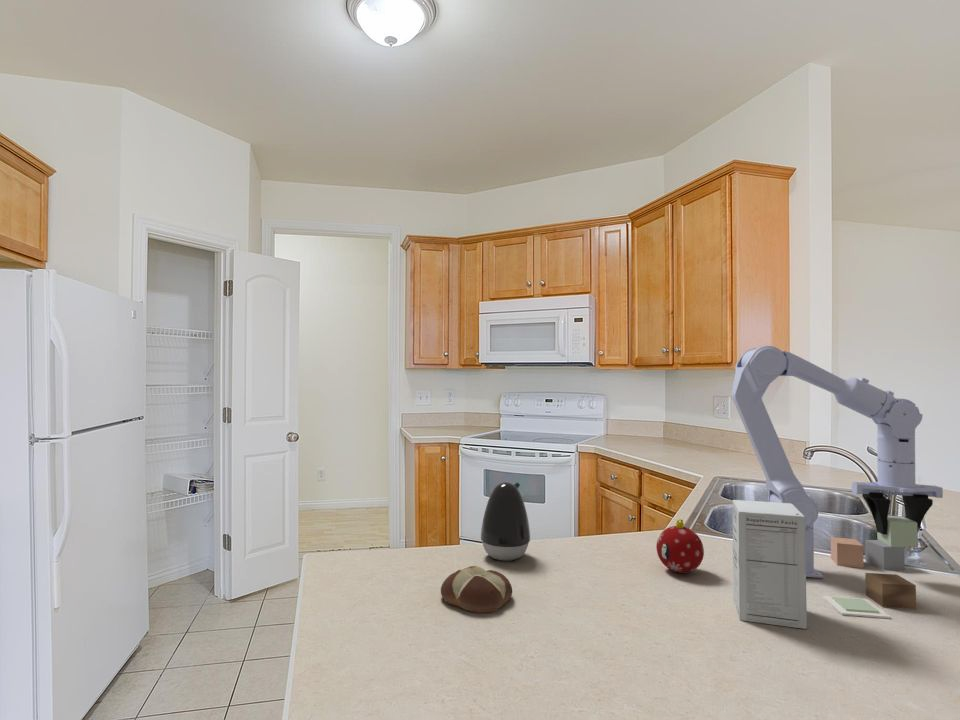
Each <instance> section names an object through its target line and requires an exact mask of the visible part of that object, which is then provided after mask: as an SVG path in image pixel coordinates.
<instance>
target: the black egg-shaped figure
mask: <svg viewBox="0 0 960 720" xmlns="http://www.w3.org/2000/svg"><path fill="white" fill-rule="evenodd" d="M520 485H521V484H520V483H519V482H515V483H514V484H513V483H512V482H511V483H510V482H501V483H499V484H497V485H496V486H495V487H494V489H493V490H492V492H491V494H490V496H489V498H488V501H487V503H486V506H485V509H484V514H483V519H482V524H481V529H480V540H481V542H482V546H483V548H484V551H485V552H486V554H487V555H488V556H489V557H491V558H492V559H495V560H498V561H501V562H502V561H505V562H509V561H514V560H517V559H519V558H520V557H522V556H523V555H524V554H525V553H526V551H527V549H528V547H529V543H530V542H531V530H530V523H529V516H528V513H527V508H526V505H525V501H524V499H523V497H522V494H521V492H520V490H519V488H520V487H521V486H520Z"/></svg>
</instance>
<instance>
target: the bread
mask: <svg viewBox="0 0 960 720" xmlns="http://www.w3.org/2000/svg"><path fill="white" fill-rule="evenodd" d="M512 587H513V586H512V584H511V582H510V580H509V579H508V578H507V577H506V576H505V575H504V574H503V573H501V572H499V571H497V570H492V569H490V570H487V569H485V568H483V567H481V566H478V565H477V566H476V565H471V566H468V567H465V568H463V569H458V570H457V571H455V572H453V573H450V574H449V575H448V576H447V577H446V578H445V580H444V581H443V582H442V584H441V587H440V595H441V597H442V599H443V600H444V601H445V602H446V603H448V604H450V605H452V606H455V607H458V608H461V609H463V610H465V611H469V612H472V613H476V614H485V613H487V614H488V613H491V612H494V611H497V610H498V609H499V608H500V607H503V606H504V605H505V604H506V603H507V602H508V601H509V600H510V599H511V597H512V595H513V588H512Z"/></svg>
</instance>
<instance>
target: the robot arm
mask: <svg viewBox="0 0 960 720" xmlns="http://www.w3.org/2000/svg"><path fill="white" fill-rule="evenodd" d="M778 377H795V378H797V379H799V380H801V381H805V382H806V383H809V384H811V385H814V386H816V387H817V388H820V389H822V390H824V391H827V392H829V393H832V394H833V395H834V397H835V400H836V403H838V404H839V405H842V406H843V407H846V408H848V409H850V410H852V411H855V412H856V413H858V414H861V415H862V416H864V417H867V418H869V419H871V420H872V421H873V422H874V423H875V424H876V425H877V427H876V428H877V431H876V433H877V436H876V437H877V439H876V443H877V447H876V448H877V450H876V451H877V452H876V454H877V467H876V468H877V481H864V482H863V481H861V482H858V481H857V482H856V481H855V482H854V481H852V482H851V492H852V493H853V494H856V495H862V498H863V500H864V501H865V503H866V505H867V507H868V508H869V511H870V512H871V515H872V519H873V520H874V525H875V528H876V533H877V532H879V533H881V534H885V535H887V529H888V522H887V517H888V516H889V509H890V504H891V500H890V499H888V498H886V496H901V497H902V501H903V506H904V513H905V518H907V519H910V520H912V521H915V522H917V529H918V532H919V531H920V527H921V525H922V522H923V519H924V517H925V516H926V514H927V512H928V511H929V509H930V508H931V507H932V506H933V503H934V500H933V499H932V498H933V497H934V498H937V499H940V498H941V499H943V495H944V493H943V492H944V491H943V490H944V489H943V487H942V486H938V485H932V484H931V485H928V484H920V483H918V484H917V483H916V429H917V427H918V426H919V425H920V424H921V422H922V420H923V414H922V413H920V410H919V407H918V406H917V405H916V403H914V402H913V401H912V400H910V399H907V398H898V397H897V398H896V397H895V396H894V395H895V393H894V392H893V391H891V390H883V389H881V388H878V387H877V386H874V385H872V384H869V382H870V380H869V379H867V378H865V377H859V378H857V377H850V378H846V379H844V378H842V377H839V376H837V375H836V374H834V373H832V372H829V371H828V370H826V369H824V368H822V367H820V366H818V365H816V364H814V363H812V362H810V361H809V360H806V359H804V358H803V357H802V356H801V357H800V356H798V355H796V354H794V353H793V352H790V351H786V350H781V349H780V348H778V347H776V346H774V345H773V346H772V345H764V346H761V347H759V348H756V347H754V348H751V349H748V350H746V351H744V352H743V354H742V355H741V357H740V358H739V359H738V361H737V362H736V364H735V374H734V379H733V383H732V388H731V390H732V391H731V399H732V401H733V404H734V406H735V409H736V410H737V413H738V415H739V417H740V420H741V422H742V424H743V427H744V430H745V432H746V434H747V436H748V437H747V438H748V439H749V441H750V443H751V446H752V448H753V451H754V454H755V455H756V458H757V461H758V463H759V465H760V468H761V470H762V472H763V474H764V476H765V486H766V487H765V488H766V489H767V493H768V497H767V502H775V503H790V504H793V505H794V506H795V507H796V508H797V509H798V510H799V511H800V512H801V513H802V514H803V516H804V517H805V555H806V578H819V579H820V578H821V579H823V578H824V575H823V574H822V573H821V572H819V571H818V570H817V569H815V561H814V560H815V559H814V557H815V551H814V549H815V547H814V546H815V545H814V544H815V538H814V534H815V533H814V531H815V529H814V526H815V525H814V524H815V522H816V521H817V519H818V517H819V508H818V505H817V503H816V502H815V500H814V499H813V498H812V497H810V496H809V495H808V493H806V490H805V488H804V486H803V484H802V483H801V482H800V481H799V479H798V478H797V476H796V475H795V474H794V472H793V469H792V467H791V464H790V462H789V459H788V457H787V454H786V452H785V450H784V448H783V446H782V443H781V441H780V438H779V436H778V434H777V432H776V429H775V427H774V424H773V422H772V419H771V418H770V414H769V413H768V410H767V408H766V406H765V404H764V402H763V401H764V400H763V396H764V395H765V393H766V391H767V389H768V388H769V386H770V385H771V383H772V382H774V381H775V380H777V378H778ZM929 497H931V498H929Z"/></svg>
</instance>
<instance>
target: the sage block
mask: <svg viewBox="0 0 960 720" xmlns="http://www.w3.org/2000/svg"><path fill="white" fill-rule="evenodd" d="M887 522H888V529H887V535H885V534H881V533H879V532H877V531H876V535H877V536H876V537H877V538H876V540H880V541H882V542H884V543H886V544H887V545H889V546H893V547H904V548H919V531H918V529H917V522H915V521H912V520H910V519H907V518H906V516H905V517H904V516H901V515H900V516H896V515H895V516H894V515H893V516H892V515H888V517H887Z"/></svg>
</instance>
